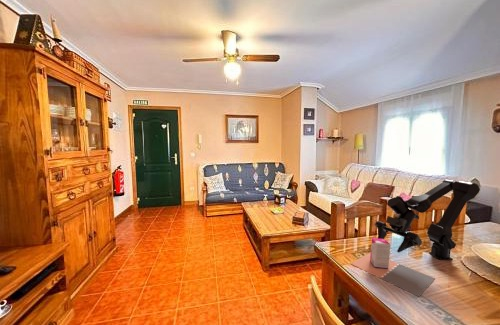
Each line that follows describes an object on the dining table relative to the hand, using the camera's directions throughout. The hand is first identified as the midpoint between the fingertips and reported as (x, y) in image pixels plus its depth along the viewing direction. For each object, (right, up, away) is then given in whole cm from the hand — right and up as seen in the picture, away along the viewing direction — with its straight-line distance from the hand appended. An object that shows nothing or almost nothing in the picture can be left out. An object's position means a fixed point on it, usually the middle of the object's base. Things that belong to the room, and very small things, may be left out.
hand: (387, 247), depth 100 cm
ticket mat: (-2, -8, -5) cm, 10 cm away
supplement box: (-5, -8, -1) cm, 9 cm away
